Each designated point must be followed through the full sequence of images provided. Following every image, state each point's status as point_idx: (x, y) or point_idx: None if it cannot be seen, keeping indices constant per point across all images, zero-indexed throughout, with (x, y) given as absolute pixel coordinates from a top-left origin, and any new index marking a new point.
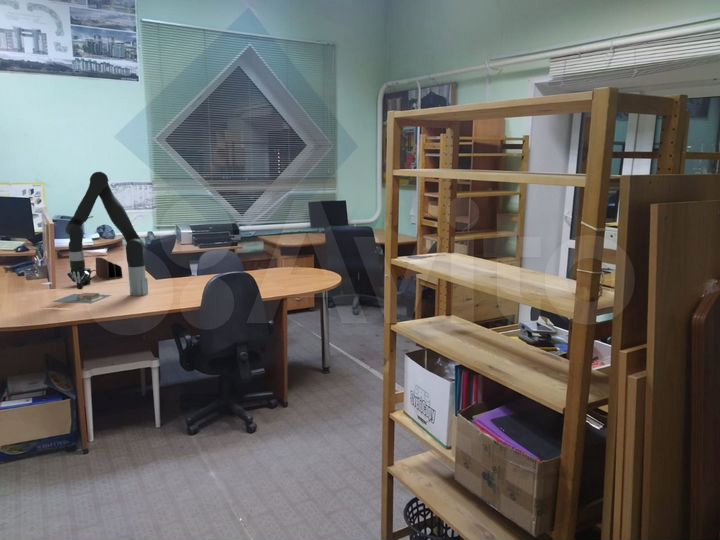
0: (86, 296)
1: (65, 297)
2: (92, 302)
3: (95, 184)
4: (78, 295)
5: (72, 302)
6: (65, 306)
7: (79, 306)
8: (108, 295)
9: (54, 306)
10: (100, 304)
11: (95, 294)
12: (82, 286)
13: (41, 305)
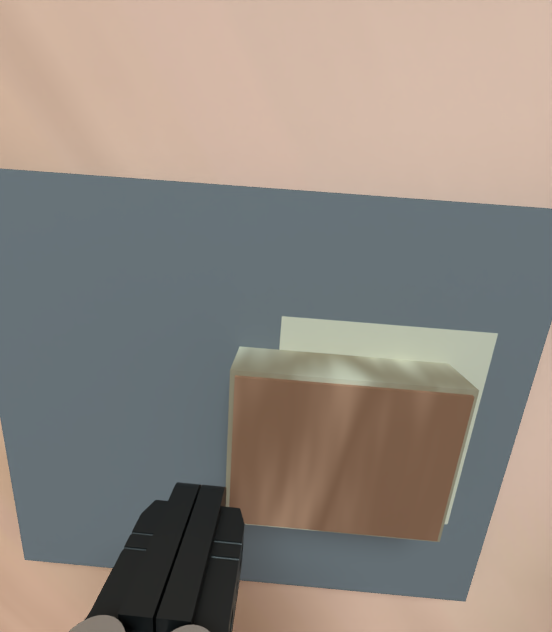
0: (361, 529)
1: (15, 382)
2: (463, 571)
3: None
4: (245, 523)
5: (252, 573)
6: (236, 615)
7: (363, 614)
8: (534, 239)
9: None
10: (537, 555)
11: (455, 466)
12: (240, 553)
13: (3, 590)
